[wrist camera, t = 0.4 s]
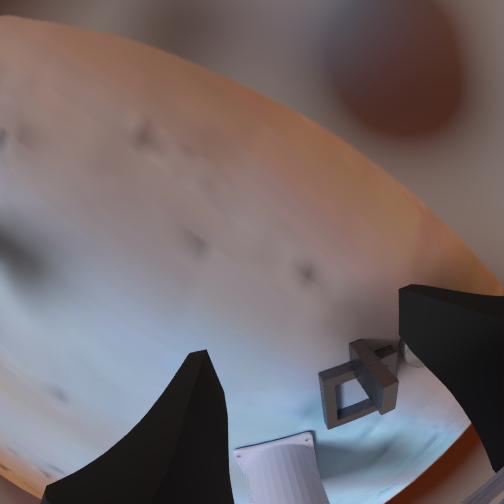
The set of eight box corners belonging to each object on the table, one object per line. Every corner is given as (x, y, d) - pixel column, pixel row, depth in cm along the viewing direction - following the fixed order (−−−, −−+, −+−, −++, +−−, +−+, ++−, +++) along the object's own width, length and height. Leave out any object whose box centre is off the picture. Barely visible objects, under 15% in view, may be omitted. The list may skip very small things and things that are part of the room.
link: (387, 396, 24) (414, 434, 18) (324, 421, 23) (344, 466, 18) (391, 326, 21) (431, 364, 16) (315, 354, 21) (343, 404, 15)
